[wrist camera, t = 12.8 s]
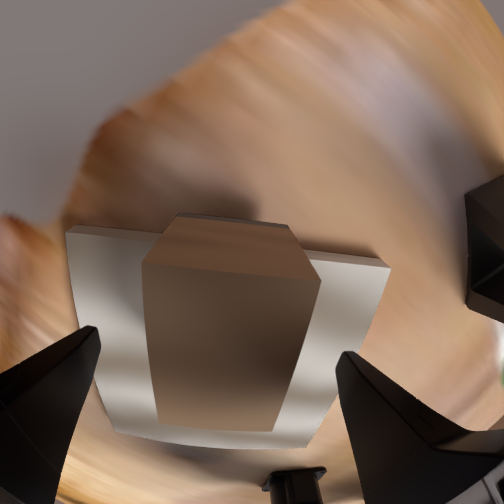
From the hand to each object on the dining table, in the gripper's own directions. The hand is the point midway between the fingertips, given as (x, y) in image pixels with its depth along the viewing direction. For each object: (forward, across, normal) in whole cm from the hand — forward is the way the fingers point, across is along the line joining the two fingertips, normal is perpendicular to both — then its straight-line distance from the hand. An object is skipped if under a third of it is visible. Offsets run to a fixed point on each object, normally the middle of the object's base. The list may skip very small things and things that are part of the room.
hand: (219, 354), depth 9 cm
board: (+5, 0, +6) cm, 8 cm away
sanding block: (+4, 0, 0) cm, 4 cm away
